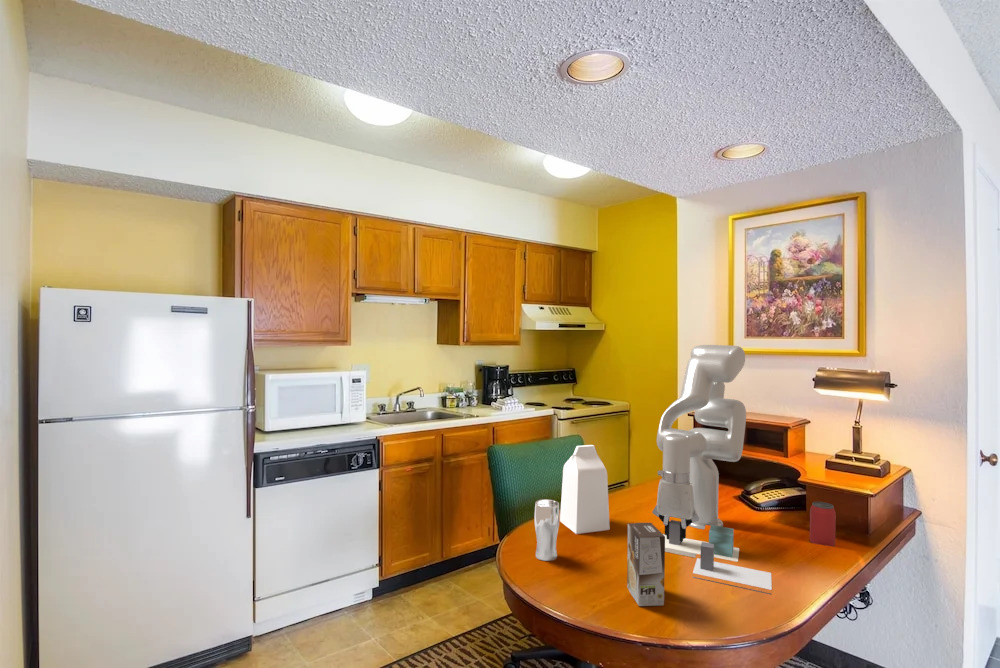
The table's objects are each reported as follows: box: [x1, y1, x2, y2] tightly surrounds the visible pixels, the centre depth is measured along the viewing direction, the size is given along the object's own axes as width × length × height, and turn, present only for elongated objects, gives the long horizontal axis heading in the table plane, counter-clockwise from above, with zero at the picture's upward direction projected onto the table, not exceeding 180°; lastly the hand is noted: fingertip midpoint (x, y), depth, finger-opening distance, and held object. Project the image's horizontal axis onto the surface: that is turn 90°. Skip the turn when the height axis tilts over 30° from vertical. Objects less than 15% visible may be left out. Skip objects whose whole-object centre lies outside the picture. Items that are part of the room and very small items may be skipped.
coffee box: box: [626, 522, 666, 607], centre depth 123 cm, size 9×6×16 cm
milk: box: [559, 444, 611, 535], centre depth 169 cm, size 12×12×26 cm
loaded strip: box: [662, 519, 740, 563], centre depth 149 cm, size 22×10×7 cm, turn 63°
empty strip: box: [692, 541, 773, 595], centre depth 133 cm, size 18×10×7 cm, turn 63°
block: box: [708, 525, 735, 558], centre depth 146 cm, size 6×6×6 cm
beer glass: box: [533, 498, 560, 562], centre depth 145 cm, size 7×7×15 cm
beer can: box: [809, 501, 837, 548], centre depth 156 cm, size 7×7×12 cm
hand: (675, 538), depth 152 cm, fingers closed on loaded strip, 3 cm apart
